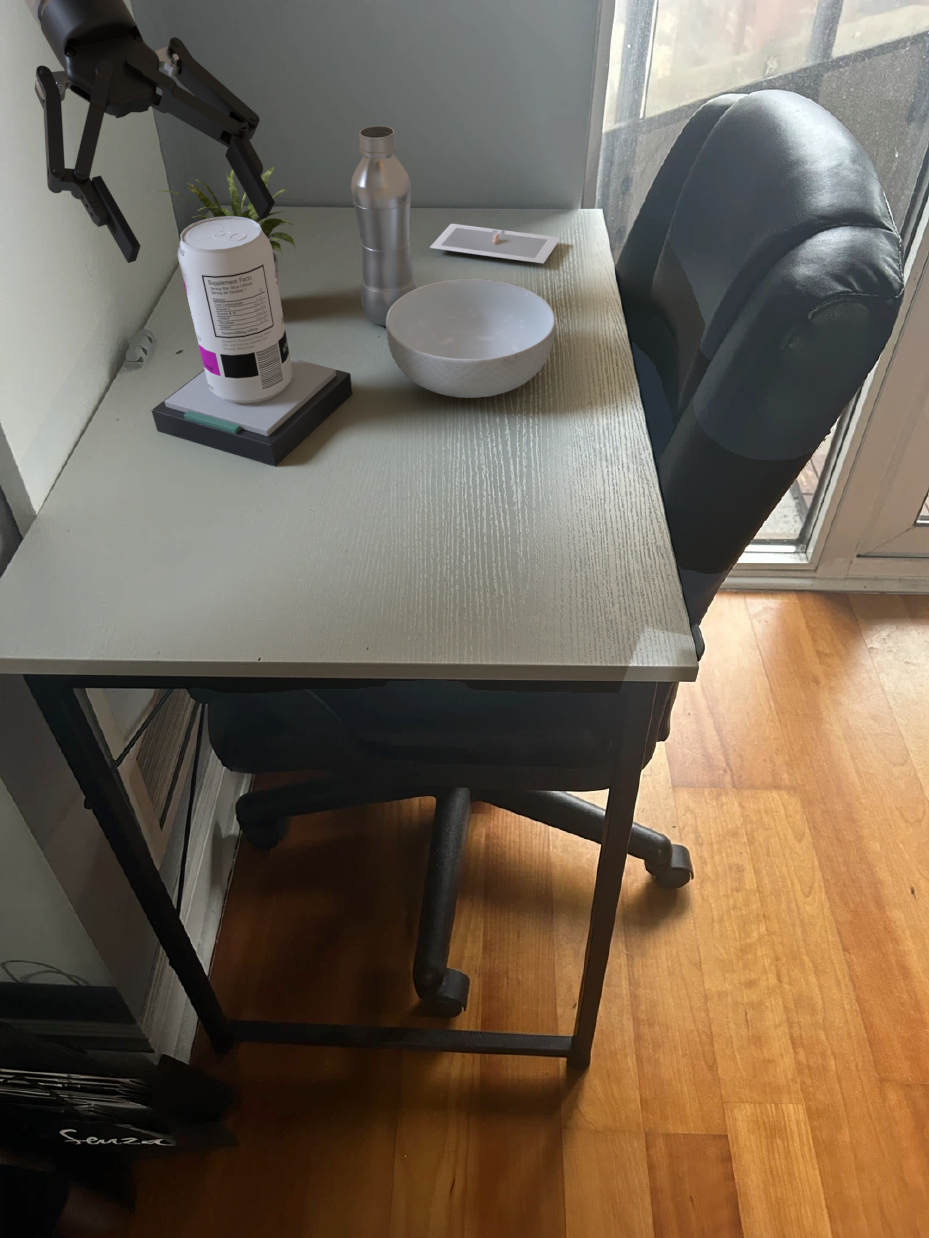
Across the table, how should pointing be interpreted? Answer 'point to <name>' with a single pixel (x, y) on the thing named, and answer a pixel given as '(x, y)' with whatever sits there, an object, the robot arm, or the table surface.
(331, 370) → the scale
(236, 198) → the house plant
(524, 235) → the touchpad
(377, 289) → the silver metal bottle
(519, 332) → the cereal bowl
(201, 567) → the table surface
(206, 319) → the supplement can
